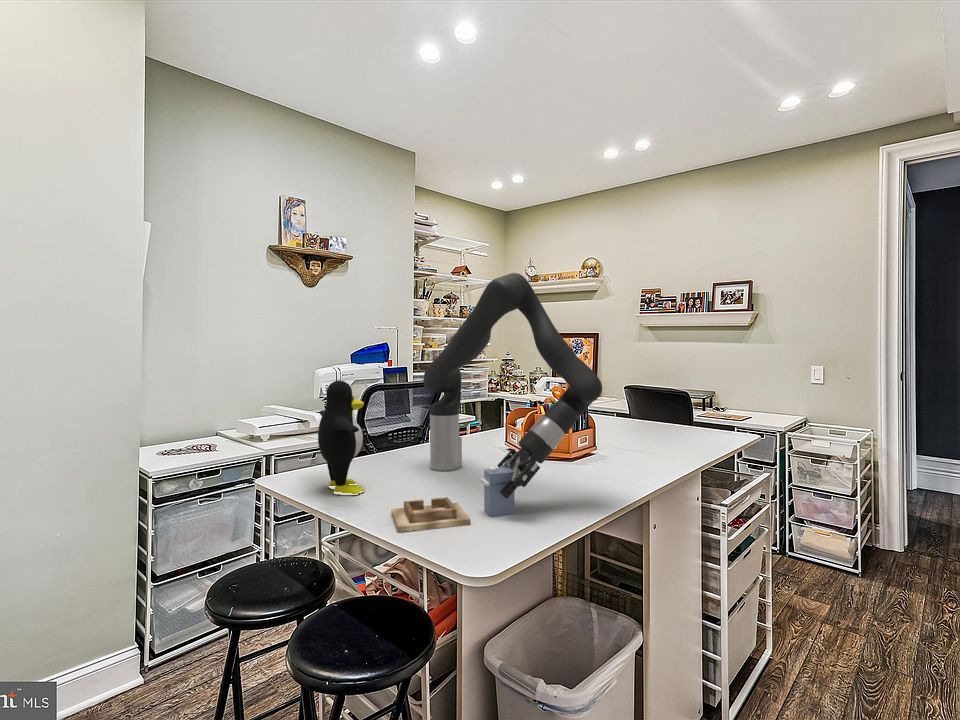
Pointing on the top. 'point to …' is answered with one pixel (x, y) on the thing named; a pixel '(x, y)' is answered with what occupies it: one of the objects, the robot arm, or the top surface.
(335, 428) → the toy
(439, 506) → the wooden fixture board
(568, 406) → the robot arm
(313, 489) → the top surface
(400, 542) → the top surface
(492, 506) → the servo block
